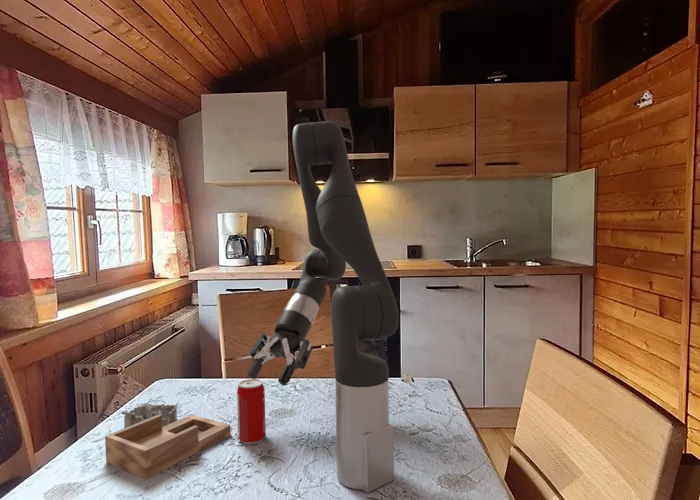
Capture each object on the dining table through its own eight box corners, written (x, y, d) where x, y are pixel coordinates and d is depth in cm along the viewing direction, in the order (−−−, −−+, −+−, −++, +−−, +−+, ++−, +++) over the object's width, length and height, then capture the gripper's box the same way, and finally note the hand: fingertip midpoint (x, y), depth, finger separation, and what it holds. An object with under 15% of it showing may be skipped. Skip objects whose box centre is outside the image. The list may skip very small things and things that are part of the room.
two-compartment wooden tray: (230, 434, 98) (230, 411, 98) (146, 479, 81) (145, 451, 81) (192, 423, 104) (191, 401, 104) (106, 462, 87) (105, 436, 87)
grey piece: (119, 430, 102) (118, 412, 102) (139, 416, 109) (138, 399, 109) (164, 432, 101) (163, 413, 100) (181, 418, 108) (181, 400, 108)
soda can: (269, 440, 95) (267, 382, 95) (243, 447, 92) (241, 387, 92) (260, 430, 100) (259, 375, 99) (235, 436, 97) (233, 380, 97)
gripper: (266, 306, 110) (232, 366, 101) (315, 311, 103) (283, 376, 94) (281, 324, 115) (250, 383, 106) (329, 330, 108) (300, 394, 98)
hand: (266, 380), depth 100 cm, fingers open, 8 cm apart
